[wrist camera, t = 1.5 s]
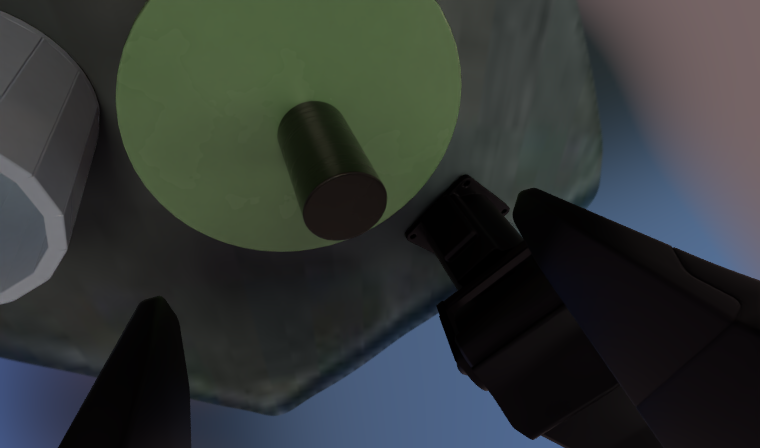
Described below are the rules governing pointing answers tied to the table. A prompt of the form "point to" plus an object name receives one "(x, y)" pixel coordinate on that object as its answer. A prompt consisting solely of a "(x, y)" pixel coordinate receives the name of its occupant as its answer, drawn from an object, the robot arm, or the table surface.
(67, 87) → the cup
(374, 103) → the lid
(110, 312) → the table surface
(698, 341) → the robot arm
